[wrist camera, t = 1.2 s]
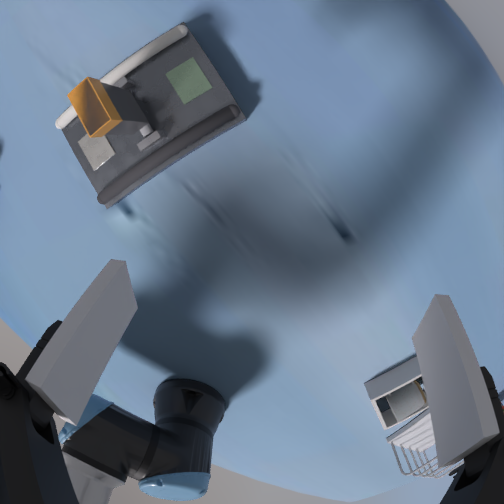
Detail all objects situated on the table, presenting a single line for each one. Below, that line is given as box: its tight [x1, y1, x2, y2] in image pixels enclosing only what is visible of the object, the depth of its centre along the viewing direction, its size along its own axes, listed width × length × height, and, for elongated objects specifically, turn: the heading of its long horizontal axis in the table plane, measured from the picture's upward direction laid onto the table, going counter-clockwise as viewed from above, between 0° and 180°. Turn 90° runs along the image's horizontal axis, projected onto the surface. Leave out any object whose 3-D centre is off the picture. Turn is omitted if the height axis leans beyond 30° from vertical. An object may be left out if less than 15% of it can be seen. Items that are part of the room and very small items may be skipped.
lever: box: [67, 77, 154, 138], centre depth 26 cm, size 3×7×13 cm, turn 29°
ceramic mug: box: [385, 380, 426, 422], centre depth 52 cm, size 11×8×8 cm
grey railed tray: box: [56, 25, 240, 204], centre depth 32 cm, size 22×15×2 cm
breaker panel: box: [57, 22, 246, 209], centre depth 33 cm, size 22×16×6 cm
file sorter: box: [386, 408, 464, 479], centre depth 58 cm, size 25×17×16 cm
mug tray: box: [364, 356, 429, 430], centre depth 54 cm, size 14×16×5 cm
